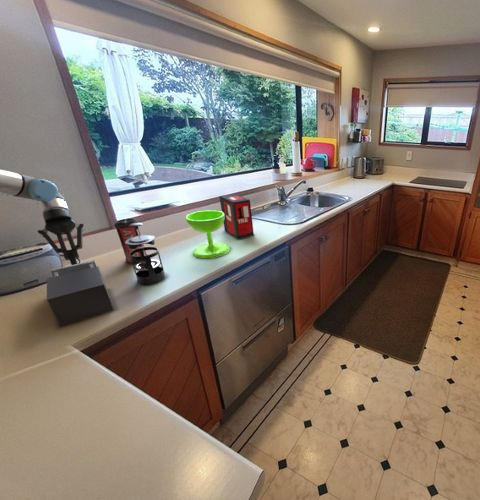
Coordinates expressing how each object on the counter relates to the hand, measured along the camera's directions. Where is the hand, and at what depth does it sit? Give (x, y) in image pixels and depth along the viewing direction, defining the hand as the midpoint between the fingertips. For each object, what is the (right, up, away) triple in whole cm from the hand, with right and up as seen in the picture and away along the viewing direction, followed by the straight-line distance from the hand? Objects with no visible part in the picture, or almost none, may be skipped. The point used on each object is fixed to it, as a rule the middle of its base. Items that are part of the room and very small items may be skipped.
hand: (75, 266), depth 105 cm
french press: (+25, -5, +6) cm, 26 cm away
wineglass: (+36, +5, +30) cm, 48 cm away
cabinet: (+15, -13, -11) cm, 23 cm away
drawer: (+8, -8, -5) cm, 13 cm away
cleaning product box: (+41, +16, +53) cm, 68 cm away
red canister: (+8, +2, +20) cm, 22 cm away
